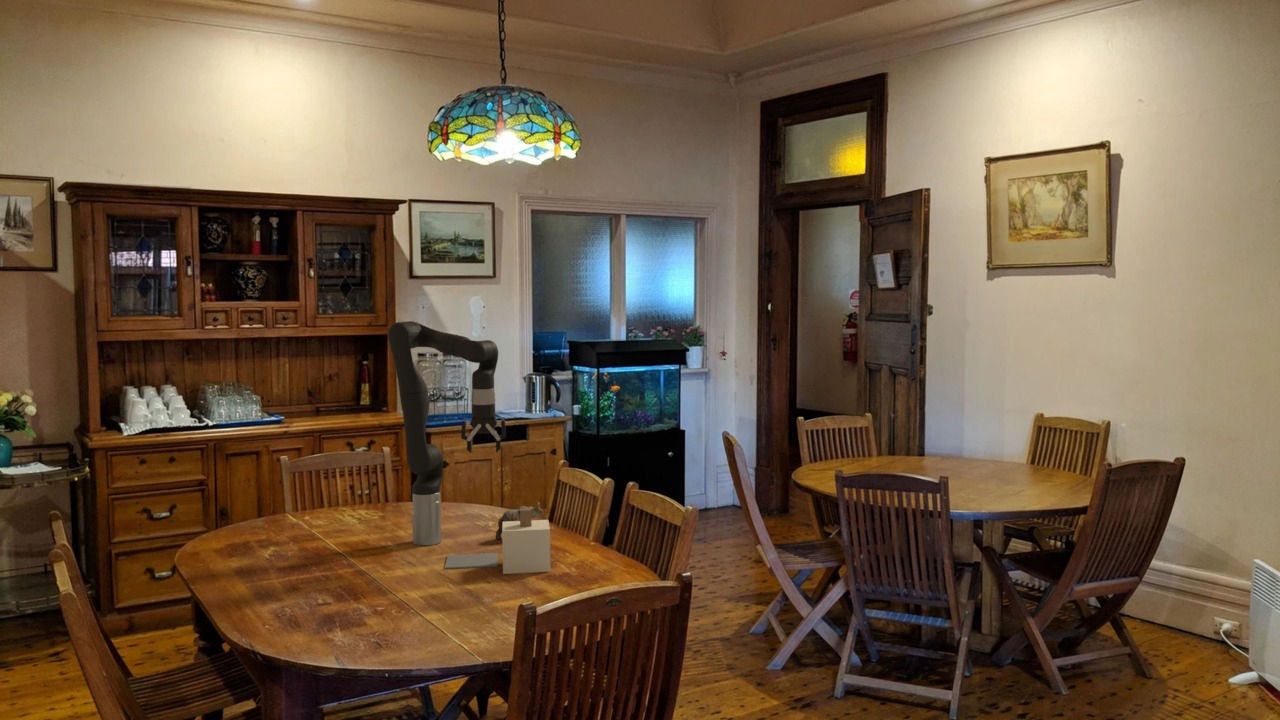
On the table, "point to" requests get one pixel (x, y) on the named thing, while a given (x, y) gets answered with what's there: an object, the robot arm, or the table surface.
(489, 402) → the robot arm
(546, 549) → the cover
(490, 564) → the mat
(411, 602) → the table surface
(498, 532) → the figurine
